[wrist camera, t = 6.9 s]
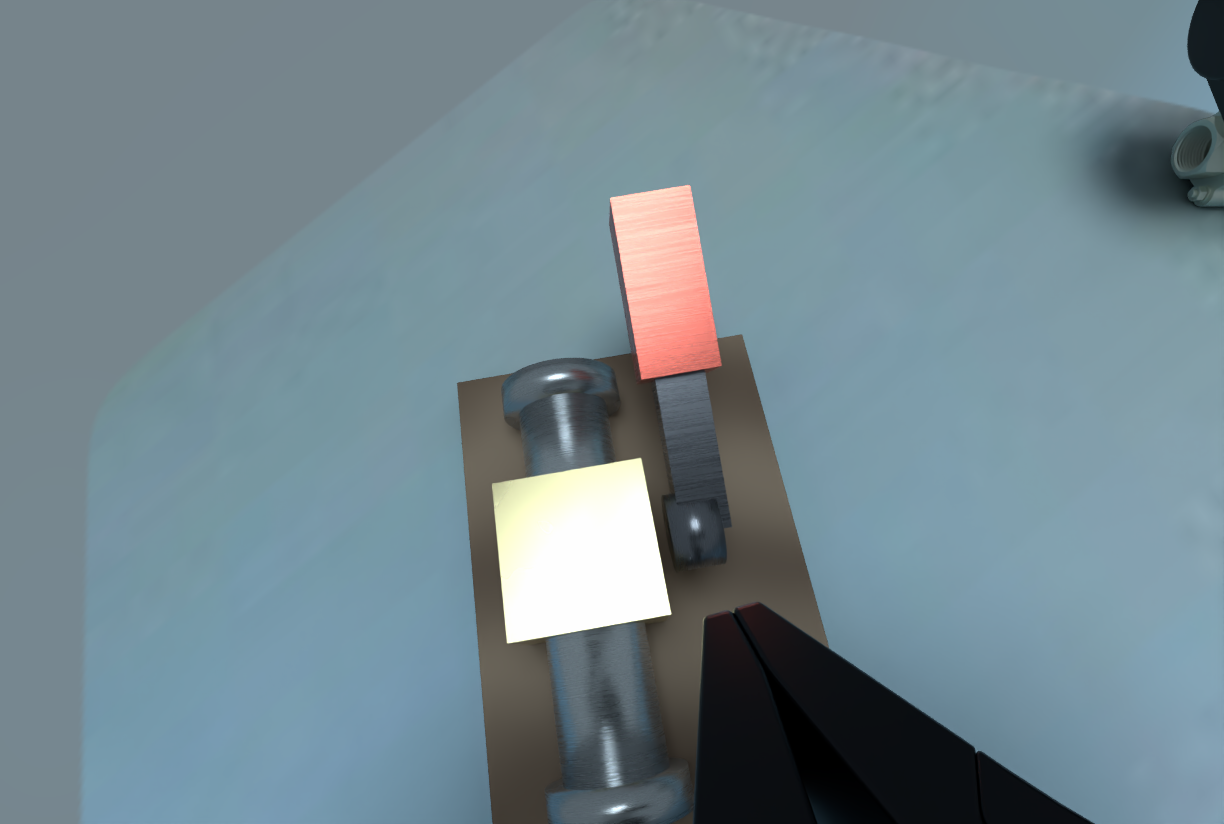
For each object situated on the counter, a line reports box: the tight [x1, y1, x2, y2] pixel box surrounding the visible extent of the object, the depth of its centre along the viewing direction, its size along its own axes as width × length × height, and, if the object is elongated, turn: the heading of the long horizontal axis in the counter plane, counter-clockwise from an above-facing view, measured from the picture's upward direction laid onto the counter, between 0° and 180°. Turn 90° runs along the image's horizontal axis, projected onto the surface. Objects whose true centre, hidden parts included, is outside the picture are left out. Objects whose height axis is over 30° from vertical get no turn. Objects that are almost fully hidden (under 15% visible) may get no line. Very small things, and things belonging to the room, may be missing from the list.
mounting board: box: [457, 335, 829, 824], centre depth 21 cm, size 16×11×1 cm
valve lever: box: [609, 185, 732, 572], centre depth 18 cm, size 2×2×11 cm
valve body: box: [492, 358, 694, 824], centre depth 19 cm, size 13×4×4 cm, turn 9°
